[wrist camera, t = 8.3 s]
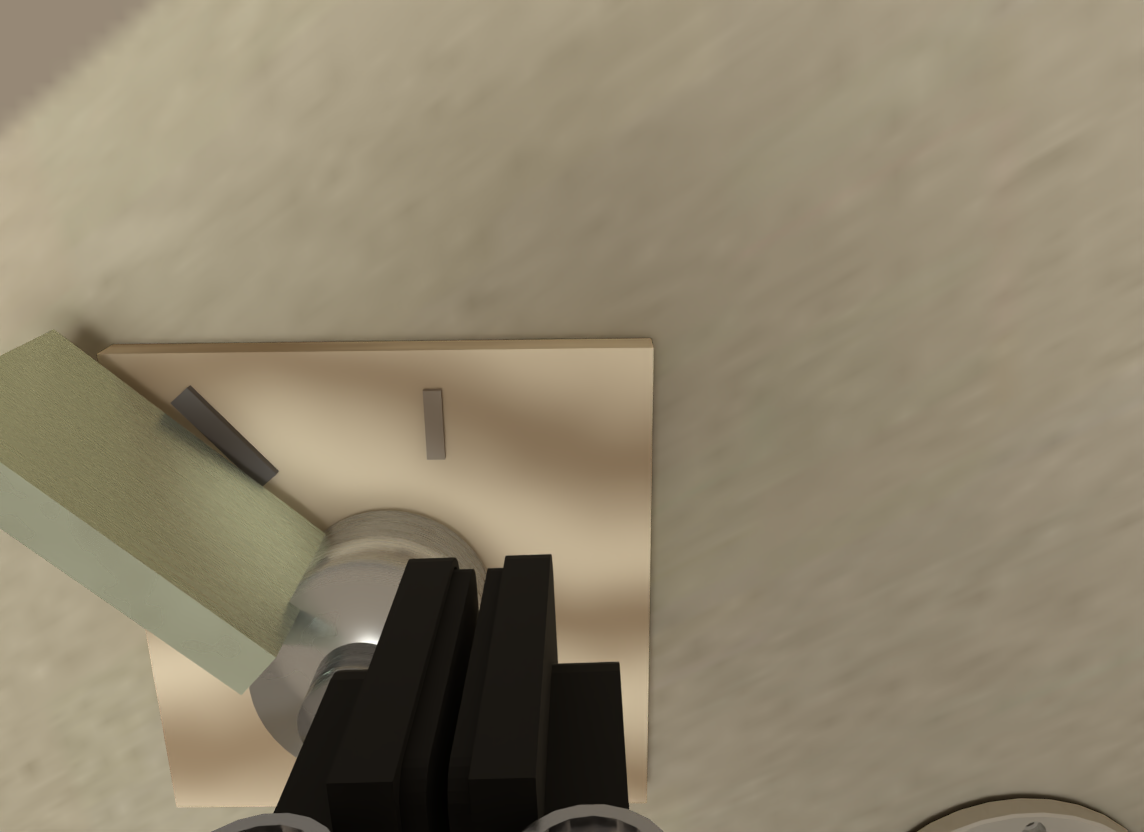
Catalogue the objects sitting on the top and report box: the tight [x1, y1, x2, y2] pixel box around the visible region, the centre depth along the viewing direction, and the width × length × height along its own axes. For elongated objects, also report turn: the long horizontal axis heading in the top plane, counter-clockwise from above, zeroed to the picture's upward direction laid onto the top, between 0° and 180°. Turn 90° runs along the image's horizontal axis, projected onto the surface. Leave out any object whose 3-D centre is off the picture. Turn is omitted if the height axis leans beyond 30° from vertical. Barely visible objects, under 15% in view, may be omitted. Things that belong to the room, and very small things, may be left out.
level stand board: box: [97, 338, 654, 807], centre depth 35 cm, size 18×18×2 cm
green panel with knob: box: [0, 329, 487, 758], centre depth 30 cm, size 18×7×8 cm, turn 48°
